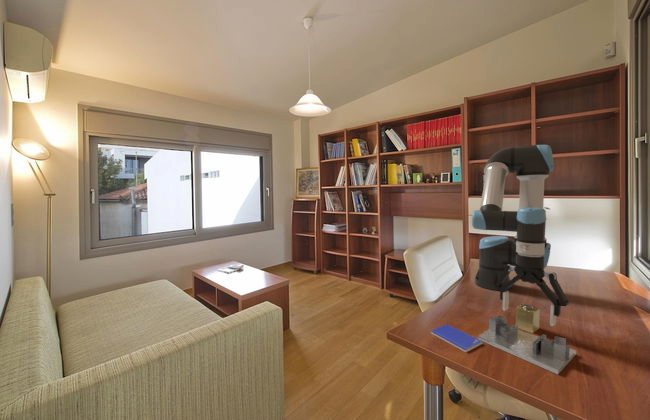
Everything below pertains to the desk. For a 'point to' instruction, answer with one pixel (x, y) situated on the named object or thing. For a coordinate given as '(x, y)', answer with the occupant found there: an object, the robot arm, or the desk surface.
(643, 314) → the desk surface
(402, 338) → the desk surface
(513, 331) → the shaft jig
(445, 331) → the hard drive
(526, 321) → the block
